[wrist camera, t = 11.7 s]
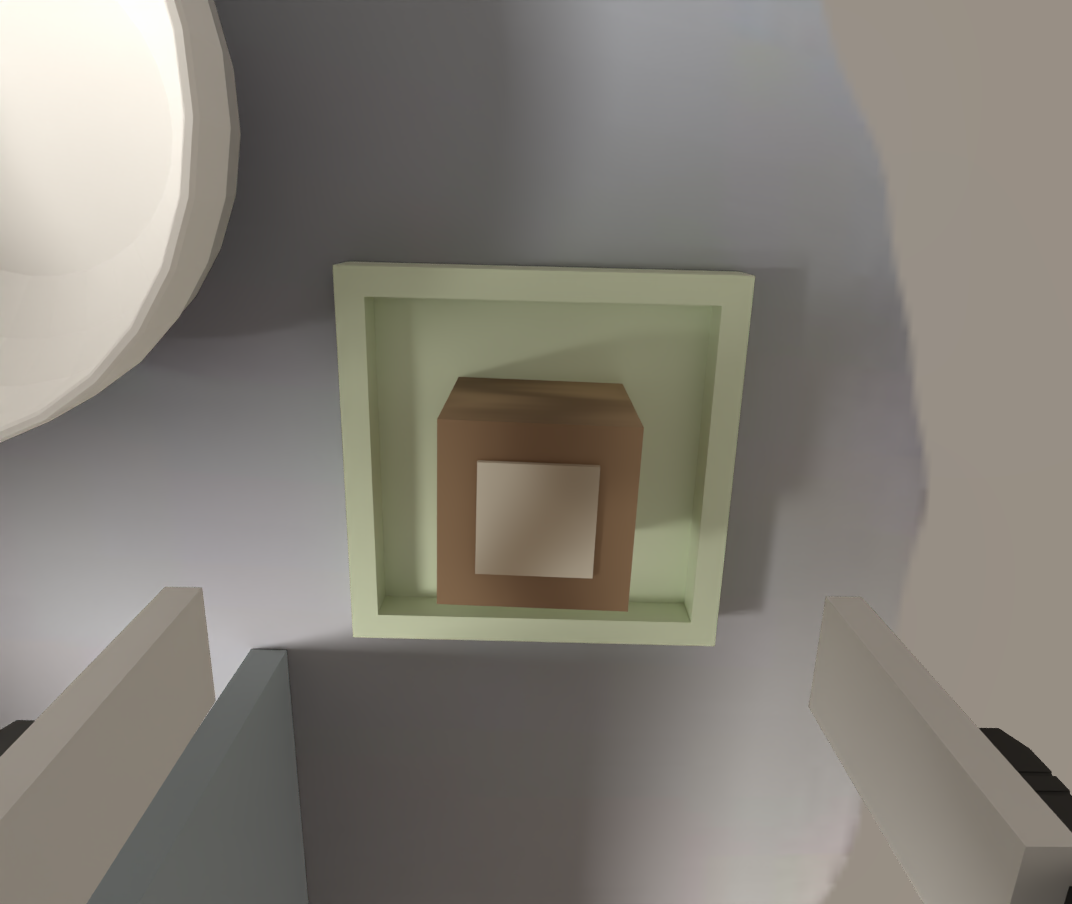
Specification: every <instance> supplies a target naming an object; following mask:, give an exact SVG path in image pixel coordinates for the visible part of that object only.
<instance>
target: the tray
mask: <svg viewBox="0 0 1072 904" xmlns="http://www.w3.org/2000/svg"><path fill="white" fill-rule="evenodd" d="M754 283H755V276H754V275H750V274H746V273H743V272H738V271H700V270H661V269H622V268H583V267H544V266H506V265H467V264H428V263H389V262H350V261H348V262H344V263H339V264H335V265H333V284H334V302H335V320H336V338H337V356H338V374H339V392H340V410H341V428H342V447H343V465H344V483H345V501H346V519H347V537H348V555H349V573H350V591H351V610H352V628H353V637H364V638H404V639H444V640H484V641H524V642H564V643H604V644H644V645H684V646H715V638H716V629H717V620H718V611H719V602H720V593H721V584H722V575H723V566H724V556H725V547H726V538H727V529H728V520H729V511H730V502H731V493H732V484H733V474H734V465H735V456H736V447H737V438H738V429H739V420H740V411H741V402H742V392H743V383H744V374H745V365H746V356H747V347H748V338H749V329H750V320H751V310H752V301H753V292H754ZM458 377H475V378H499V379H523V380H547V381H571V382H594V383H618V384H623V386H624V388H625V390H626V392H627V394H628V396H629V398H630V400H631V402H632V404H633V406H634V408H635V410H636V413H637V415H638V417H639V419H640V421H641V423H642V425H643V427H644V432H643V444H642V455H641V467H640V478H639V489H638V501H637V512H636V524H635V535H634V547H633V558H632V569H631V581H630V592H629V604H628V612H624V611H599V610H574V609H549V608H524V607H499V606H474V605H449V604H437V418H438V416H439V414H440V412H441V411H442V409H443V407H444V405H445V403H446V401H447V399H448V397H449V395H450V393H451V391H452V389H453V387H454V385H455V383H456V381H457V379H458Z"/></svg>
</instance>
